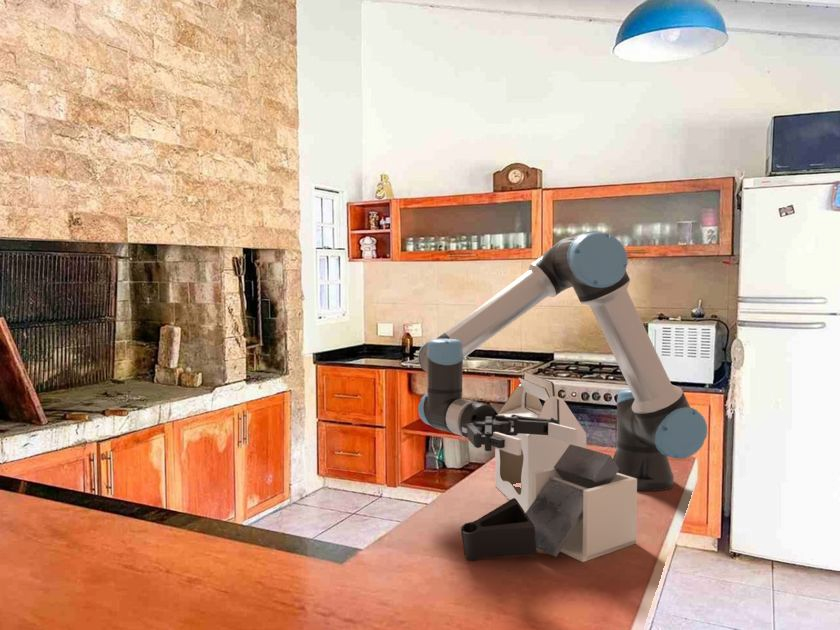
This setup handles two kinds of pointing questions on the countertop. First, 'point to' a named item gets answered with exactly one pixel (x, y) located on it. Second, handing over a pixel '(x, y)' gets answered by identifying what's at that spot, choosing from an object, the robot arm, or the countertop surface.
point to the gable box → (533, 438)
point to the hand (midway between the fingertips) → (548, 441)
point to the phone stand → (500, 533)
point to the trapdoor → (568, 496)
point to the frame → (598, 515)
